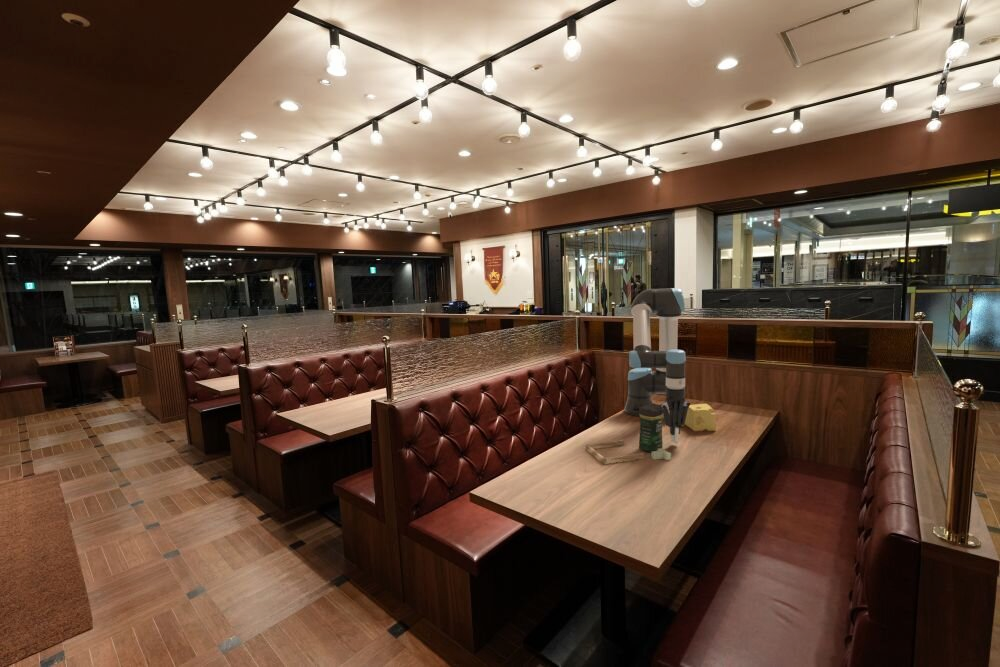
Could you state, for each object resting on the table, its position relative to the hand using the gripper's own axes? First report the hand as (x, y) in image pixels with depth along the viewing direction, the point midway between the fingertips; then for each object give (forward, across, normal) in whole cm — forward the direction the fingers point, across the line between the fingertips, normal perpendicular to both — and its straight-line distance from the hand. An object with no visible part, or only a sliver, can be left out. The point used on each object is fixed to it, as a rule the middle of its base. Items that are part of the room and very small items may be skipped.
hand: (674, 441), depth 181 cm
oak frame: (+1, -28, 0) cm, 28 cm away
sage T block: (+2, -13, -9) cm, 16 cm away
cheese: (+2, +24, +15) cm, 28 cm away
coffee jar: (+2, -11, 0) cm, 11 cm away
